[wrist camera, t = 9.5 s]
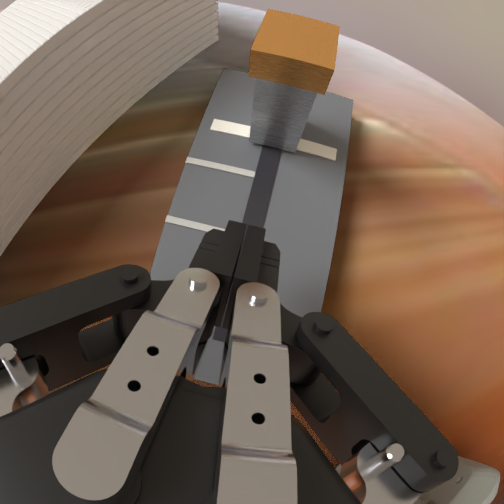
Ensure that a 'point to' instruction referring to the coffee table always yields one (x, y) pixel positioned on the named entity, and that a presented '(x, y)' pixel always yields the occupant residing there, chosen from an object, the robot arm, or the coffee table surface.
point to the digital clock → (463, 485)
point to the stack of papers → (80, 81)
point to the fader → (289, 75)
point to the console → (260, 197)
